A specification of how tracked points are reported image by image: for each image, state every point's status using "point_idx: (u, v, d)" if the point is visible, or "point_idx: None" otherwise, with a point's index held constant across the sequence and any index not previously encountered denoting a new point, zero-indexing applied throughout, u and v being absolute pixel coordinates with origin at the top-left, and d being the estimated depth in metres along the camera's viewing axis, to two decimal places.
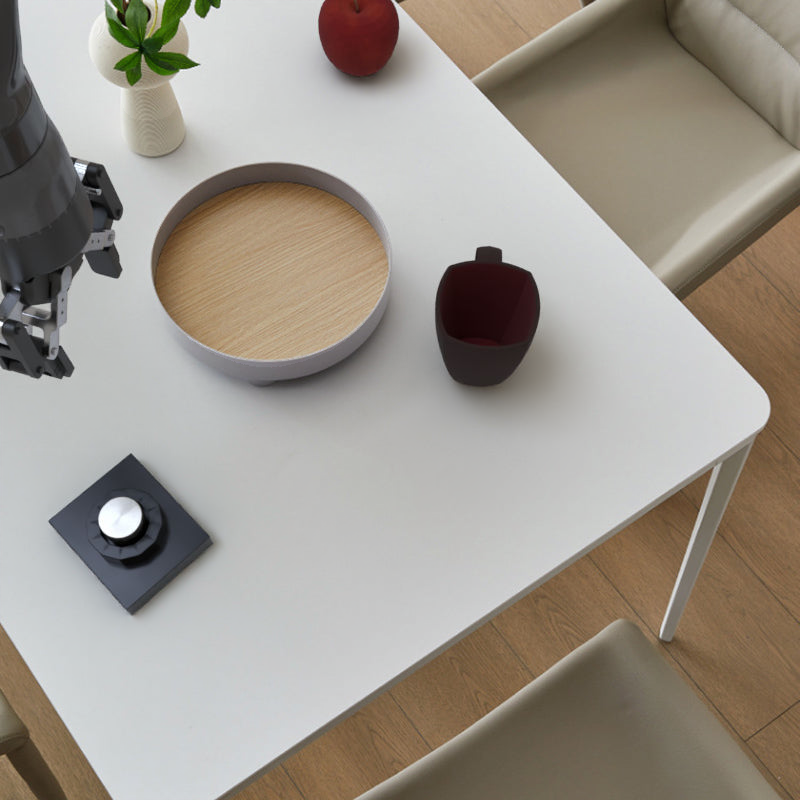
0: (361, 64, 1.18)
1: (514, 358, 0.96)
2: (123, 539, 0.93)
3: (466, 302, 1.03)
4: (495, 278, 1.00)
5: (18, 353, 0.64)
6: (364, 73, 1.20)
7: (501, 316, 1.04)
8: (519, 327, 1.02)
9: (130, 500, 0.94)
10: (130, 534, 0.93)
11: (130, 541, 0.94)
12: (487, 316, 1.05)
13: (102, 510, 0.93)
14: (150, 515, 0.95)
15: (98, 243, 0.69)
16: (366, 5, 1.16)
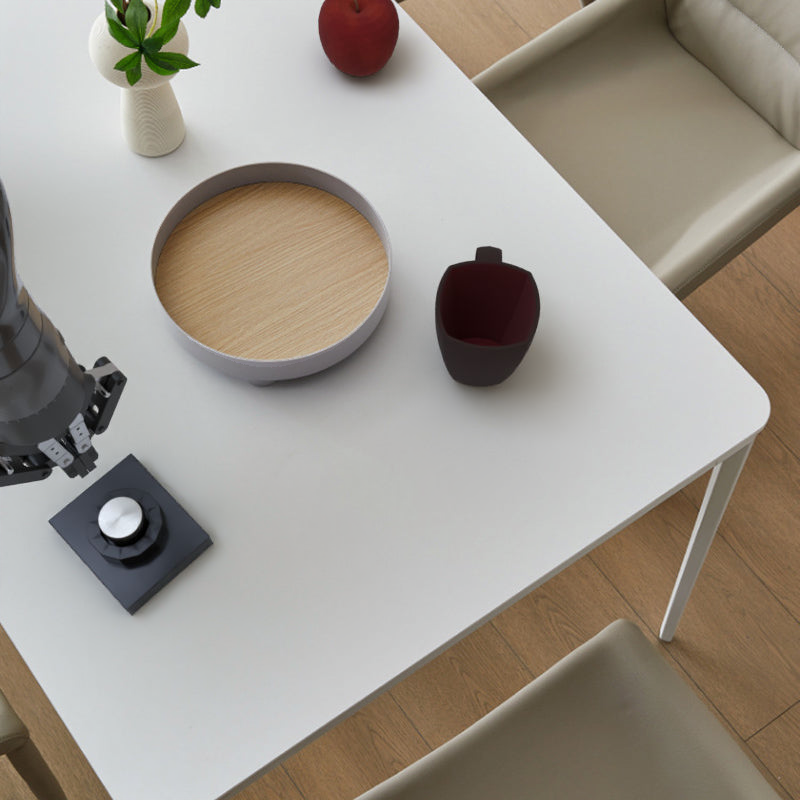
0: (361, 64, 1.18)
1: (514, 358, 0.96)
2: (123, 539, 0.93)
3: (466, 302, 1.03)
4: (495, 278, 1.00)
5: None
6: (364, 73, 1.20)
7: (501, 316, 1.04)
8: (519, 327, 1.02)
9: (130, 500, 0.94)
10: (130, 534, 0.93)
11: (130, 541, 0.94)
12: (487, 316, 1.05)
13: (102, 510, 0.93)
14: (150, 515, 0.95)
15: (78, 435, 0.75)
16: (366, 5, 1.16)
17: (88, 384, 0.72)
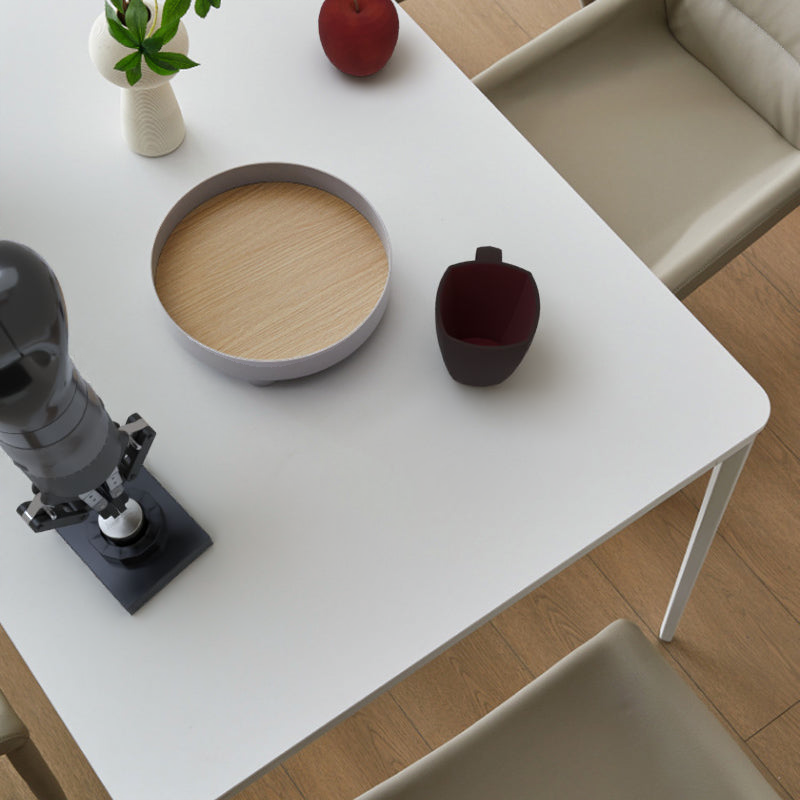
0: (361, 64, 1.18)
1: (514, 358, 0.96)
2: (123, 539, 0.93)
3: (466, 302, 1.03)
4: (495, 278, 1.00)
5: None
6: (364, 73, 1.20)
7: (501, 316, 1.04)
8: (519, 327, 1.02)
9: (130, 500, 0.94)
10: (130, 534, 0.93)
11: (130, 541, 0.94)
12: (487, 316, 1.05)
13: None
14: (150, 515, 0.95)
15: (113, 484, 0.84)
16: (366, 5, 1.16)
17: (122, 440, 0.81)
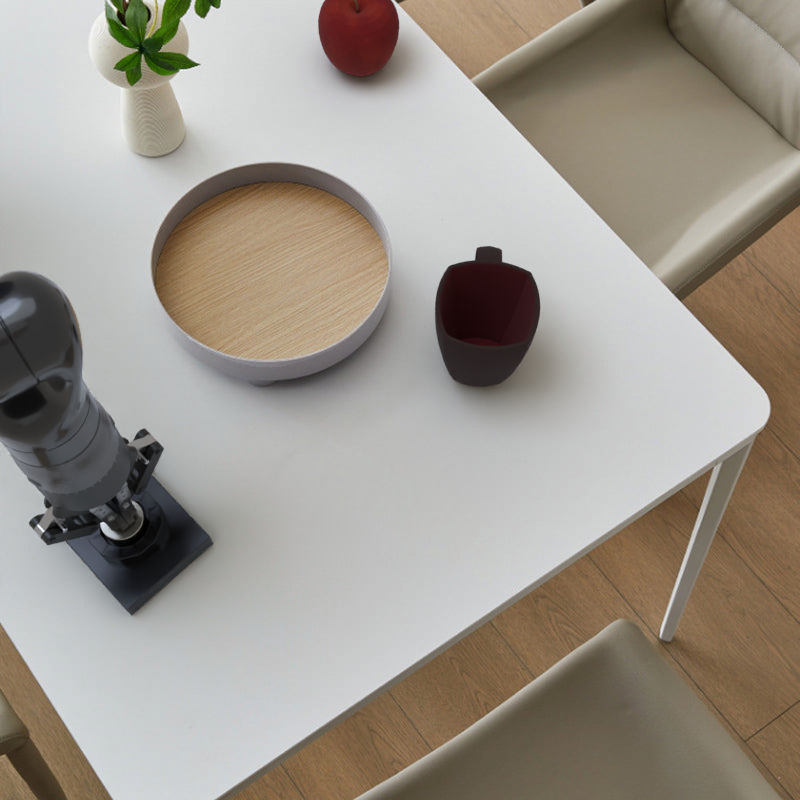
0: (361, 64, 1.18)
1: (514, 358, 0.96)
2: (125, 541, 0.93)
3: (466, 302, 1.03)
4: (495, 278, 1.00)
5: None
6: (364, 73, 1.20)
7: (501, 316, 1.04)
8: (519, 327, 1.02)
9: None
10: (131, 536, 0.93)
11: (131, 543, 0.94)
12: (487, 316, 1.05)
13: None
14: (150, 515, 0.95)
15: (122, 497, 0.87)
16: (366, 5, 1.16)
17: (131, 455, 0.84)
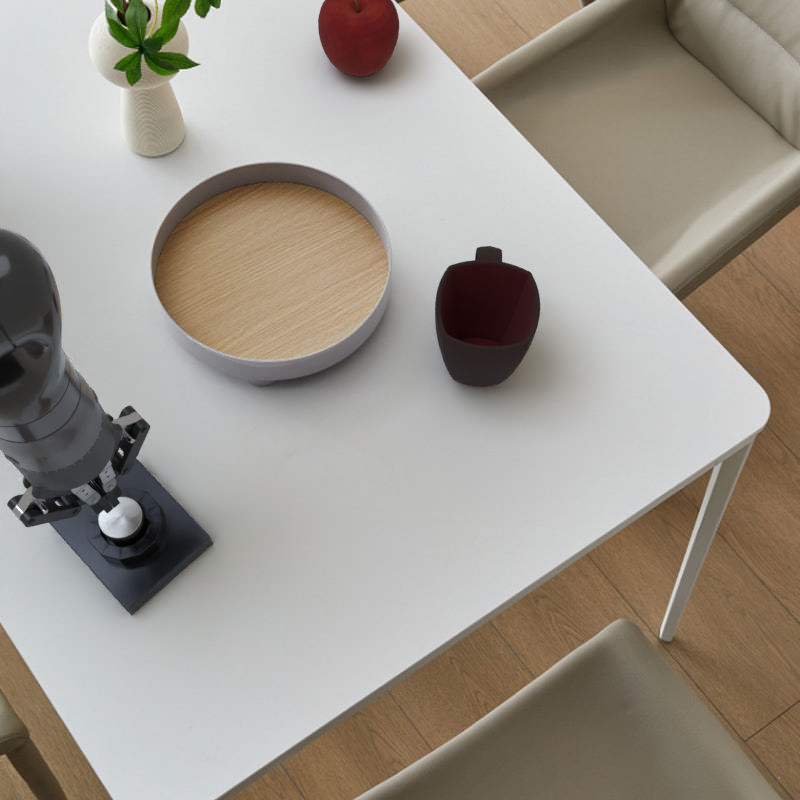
0: (361, 64, 1.18)
1: (514, 358, 0.96)
2: (123, 539, 0.93)
3: (466, 302, 1.03)
4: (495, 278, 1.00)
5: None
6: (364, 73, 1.20)
7: (501, 316, 1.04)
8: (519, 327, 1.02)
9: (130, 500, 0.94)
10: (130, 534, 0.93)
11: (130, 541, 0.94)
12: (487, 316, 1.05)
13: None
14: (150, 515, 0.95)
15: (106, 478, 0.82)
16: (366, 5, 1.16)
17: (116, 433, 0.80)
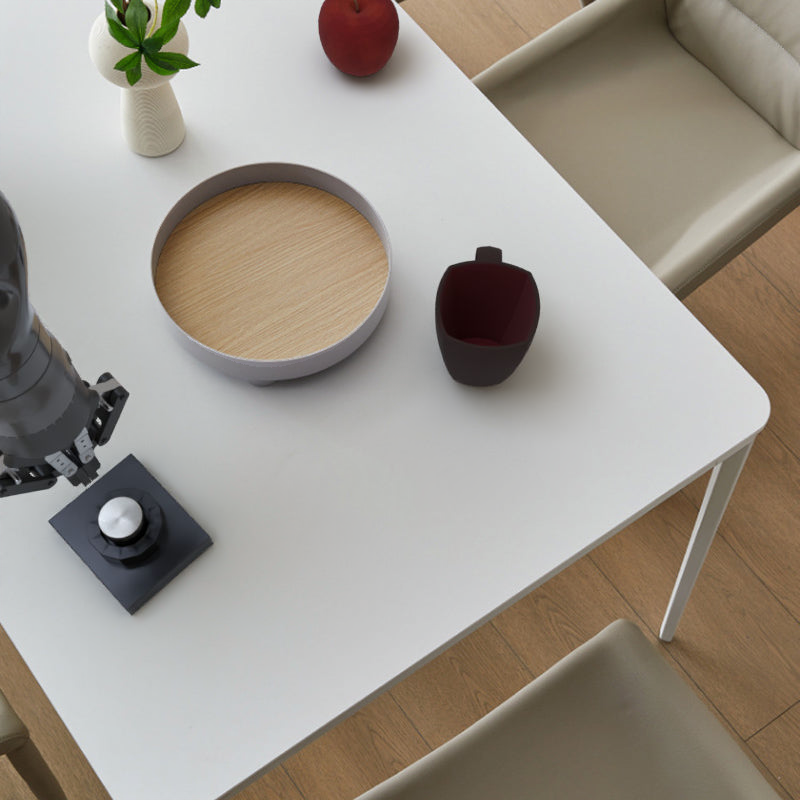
0: (361, 64, 1.18)
1: (514, 358, 0.96)
2: (123, 539, 0.93)
3: (466, 302, 1.03)
4: (495, 278, 1.00)
5: None
6: (364, 73, 1.20)
7: (501, 316, 1.04)
8: (519, 327, 1.02)
9: (130, 500, 0.94)
10: (130, 534, 0.93)
11: (130, 541, 0.94)
12: (487, 316, 1.05)
13: (102, 510, 0.93)
14: (150, 515, 0.95)
15: (82, 447, 0.79)
16: (366, 5, 1.16)
17: (92, 399, 0.76)
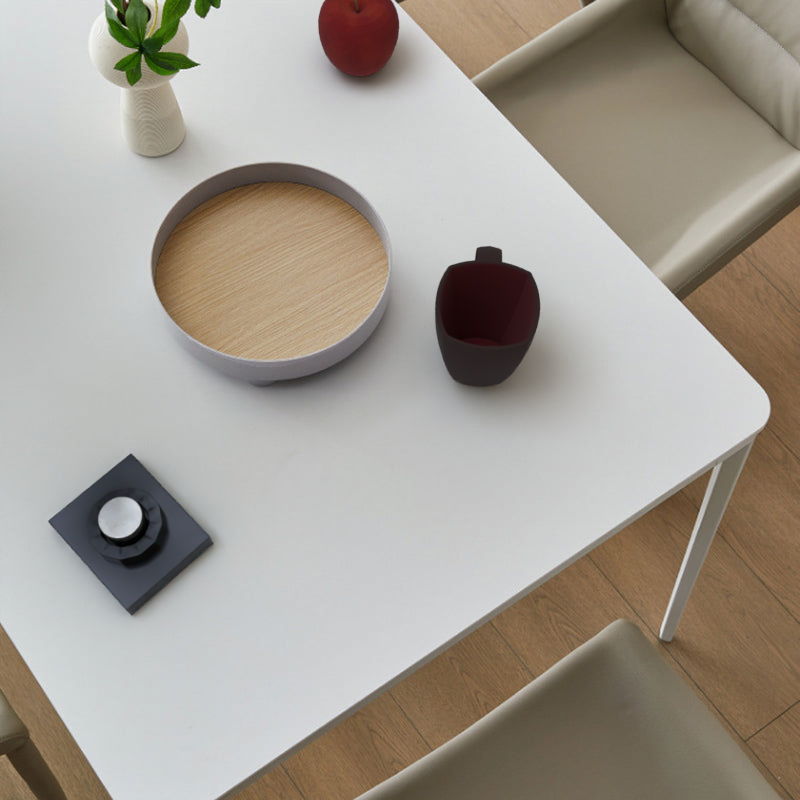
0: (361, 64, 1.18)
1: (514, 358, 0.96)
2: (123, 539, 0.93)
3: (466, 302, 1.03)
4: (495, 278, 1.00)
5: None
6: (364, 73, 1.20)
7: (501, 316, 1.04)
8: (519, 327, 1.02)
9: (130, 500, 0.94)
10: (130, 534, 0.93)
11: (130, 541, 0.94)
12: (487, 316, 1.05)
13: (102, 510, 0.93)
14: (150, 515, 0.95)
15: None
16: (366, 5, 1.16)
17: None
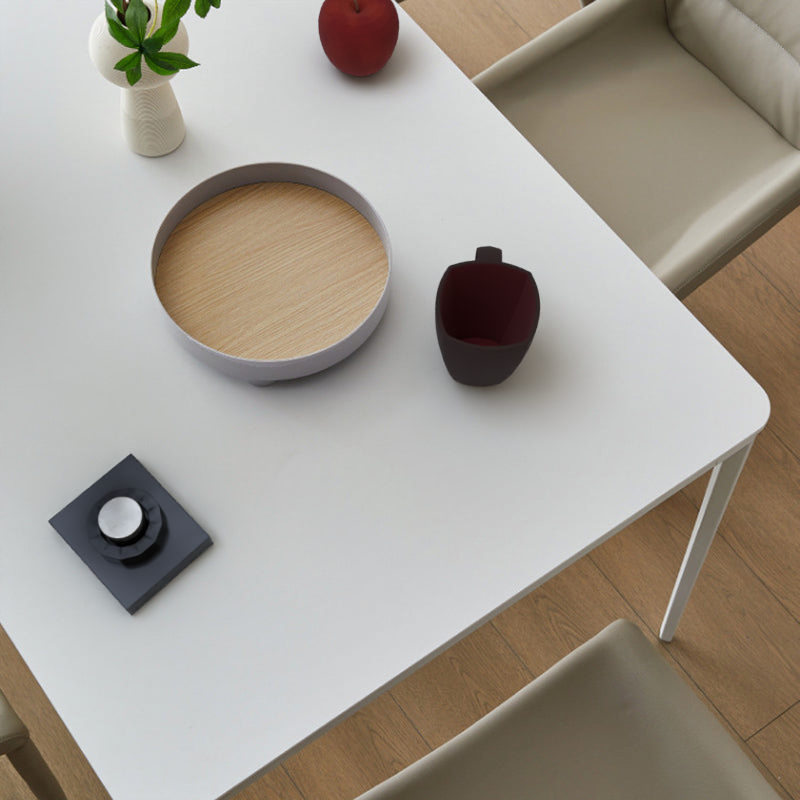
0: (361, 64, 1.18)
1: (514, 358, 0.96)
2: (123, 539, 0.93)
3: (466, 302, 1.03)
4: (495, 278, 1.00)
5: None
6: (364, 73, 1.20)
7: (501, 316, 1.04)
8: (519, 327, 1.02)
9: (130, 500, 0.94)
10: (130, 534, 0.93)
11: (130, 541, 0.94)
12: (487, 316, 1.05)
13: (102, 510, 0.93)
14: (150, 515, 0.95)
15: None
16: (366, 5, 1.16)
17: None
